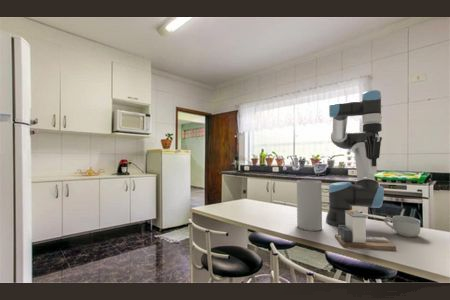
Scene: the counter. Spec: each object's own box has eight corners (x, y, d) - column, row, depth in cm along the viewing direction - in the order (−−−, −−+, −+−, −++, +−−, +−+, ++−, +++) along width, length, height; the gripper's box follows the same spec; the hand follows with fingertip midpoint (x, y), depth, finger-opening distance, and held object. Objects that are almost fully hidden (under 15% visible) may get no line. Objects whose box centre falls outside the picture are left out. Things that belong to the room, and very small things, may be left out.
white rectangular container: (345, 235, 104) (345, 208, 105) (357, 235, 103) (357, 208, 104) (353, 242, 95) (352, 213, 95) (366, 243, 94) (365, 213, 95)
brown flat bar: (338, 237, 102) (338, 235, 102) (385, 240, 98) (384, 237, 98) (340, 239, 99) (340, 237, 99) (388, 242, 95) (388, 240, 96)
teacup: (421, 234, 109) (420, 218, 110) (420, 240, 101) (420, 223, 102) (386, 228, 119) (386, 213, 119) (383, 233, 111) (383, 217, 111)
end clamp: (338, 235, 104) (337, 224, 104) (345, 235, 104) (344, 225, 104) (344, 241, 96) (343, 230, 96) (351, 242, 96) (351, 230, 96)
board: (334, 237, 106) (334, 233, 106) (381, 239, 103) (381, 236, 103) (343, 247, 94) (343, 243, 95) (396, 250, 91) (396, 246, 91)
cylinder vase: (300, 222, 129) (299, 179, 130) (323, 226, 123) (322, 180, 124) (294, 228, 119) (294, 181, 119) (320, 232, 112) (319, 182, 113)
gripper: (388, 121, 99) (389, 174, 99) (374, 125, 112) (375, 172, 112) (369, 121, 101) (370, 174, 100) (357, 125, 114) (358, 172, 113)
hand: (372, 173), depth 106 cm, fingers closed
